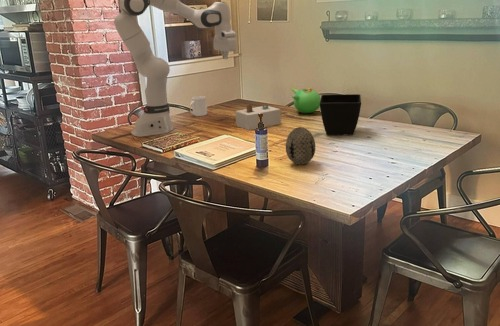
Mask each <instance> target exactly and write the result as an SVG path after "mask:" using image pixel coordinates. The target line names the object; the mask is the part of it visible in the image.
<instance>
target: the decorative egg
mask: <svg viewBox="0 0 500 326" xmlns="http://www.w3.org/2000/svg"><path fill="white" fill-rule="evenodd" d="M285 140H286V141H285V152H286V155H287V157H288V159H289V160H290V161H291V162H292V163H294V164H295V165H306V164H308V163H309V162H310V161H312V159H313V158H314V156H315V154H316V141H315V138H314V135H313V134H312V132H311V131H310V130H309V129H307V128H306V127H304V126H303V127H302V126H300V127H299V126H298V127H296V128H294V129H292V130H291V131H290V132H289V133H288V135H287V138H286V139H285Z"/></svg>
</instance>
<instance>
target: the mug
mask: <svg viewBox="0 0 500 326" xmlns="http://www.w3.org/2000/svg"><path fill="white" fill-rule="evenodd" d="M191 107H192V110H191ZM189 111H190V113H191V114H192V115H193V116H194V117H204V116H207V114H208V106H207V97H206V96H204V95H203V96H202V95H199V96H198V95H196V96H193V97H191V102H190V104H189Z"/></svg>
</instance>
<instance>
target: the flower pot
mask: <svg viewBox="0 0 500 326" xmlns="http://www.w3.org/2000/svg"><path fill="white" fill-rule="evenodd" d="M361 95H362V94H360V93H359V94H358V93H357V94H355V93H354V94H350V93H349V94H321V95H320V98H321V100H320V107H319V109H320V117H321V120H322V123H323V128H324V132H325V134H326V135H327V136H353V135H355V131H356V128H357V126H358V122H359V117H360V113H361V108H362V107H361V106H362V99H361Z"/></svg>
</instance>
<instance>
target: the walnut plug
mask: <svg viewBox="0 0 500 326" xmlns="http://www.w3.org/2000/svg"><path fill="white" fill-rule="evenodd" d="M252 108H253V104H246V109H247V113H250V112H252Z"/></svg>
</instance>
